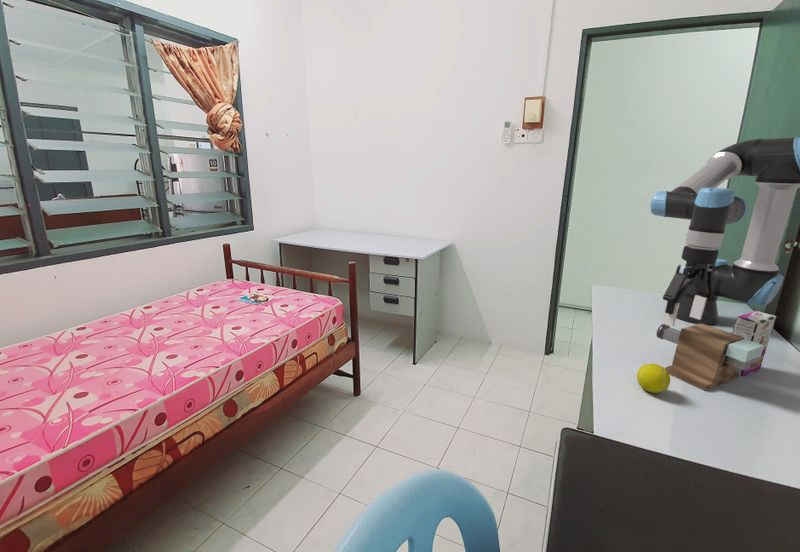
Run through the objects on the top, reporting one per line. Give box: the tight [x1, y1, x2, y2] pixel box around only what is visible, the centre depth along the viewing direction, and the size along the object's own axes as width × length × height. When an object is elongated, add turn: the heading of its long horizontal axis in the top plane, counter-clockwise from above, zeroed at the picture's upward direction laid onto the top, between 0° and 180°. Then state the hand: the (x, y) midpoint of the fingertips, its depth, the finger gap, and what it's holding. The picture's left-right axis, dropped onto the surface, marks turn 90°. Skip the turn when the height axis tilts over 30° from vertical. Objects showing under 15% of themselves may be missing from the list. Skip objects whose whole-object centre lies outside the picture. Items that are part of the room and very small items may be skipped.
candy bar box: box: [732, 310, 777, 378], centre depth 107 cm, size 11×5×16 cm, turn 117°
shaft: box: [656, 323, 753, 370], centre depth 105 cm, size 4×21×4 cm, turn 27°
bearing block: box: [664, 323, 744, 391], centre depth 104 cm, size 16×10×12 cm, turn 117°
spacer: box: [726, 339, 764, 362], centre depth 96 cm, size 8×4×3 cm, turn 117°
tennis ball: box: [636, 362, 671, 394], centre depth 96 cm, size 7×7×7 cm
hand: (681, 321), depth 108 cm, fingers open, 13 cm apart
